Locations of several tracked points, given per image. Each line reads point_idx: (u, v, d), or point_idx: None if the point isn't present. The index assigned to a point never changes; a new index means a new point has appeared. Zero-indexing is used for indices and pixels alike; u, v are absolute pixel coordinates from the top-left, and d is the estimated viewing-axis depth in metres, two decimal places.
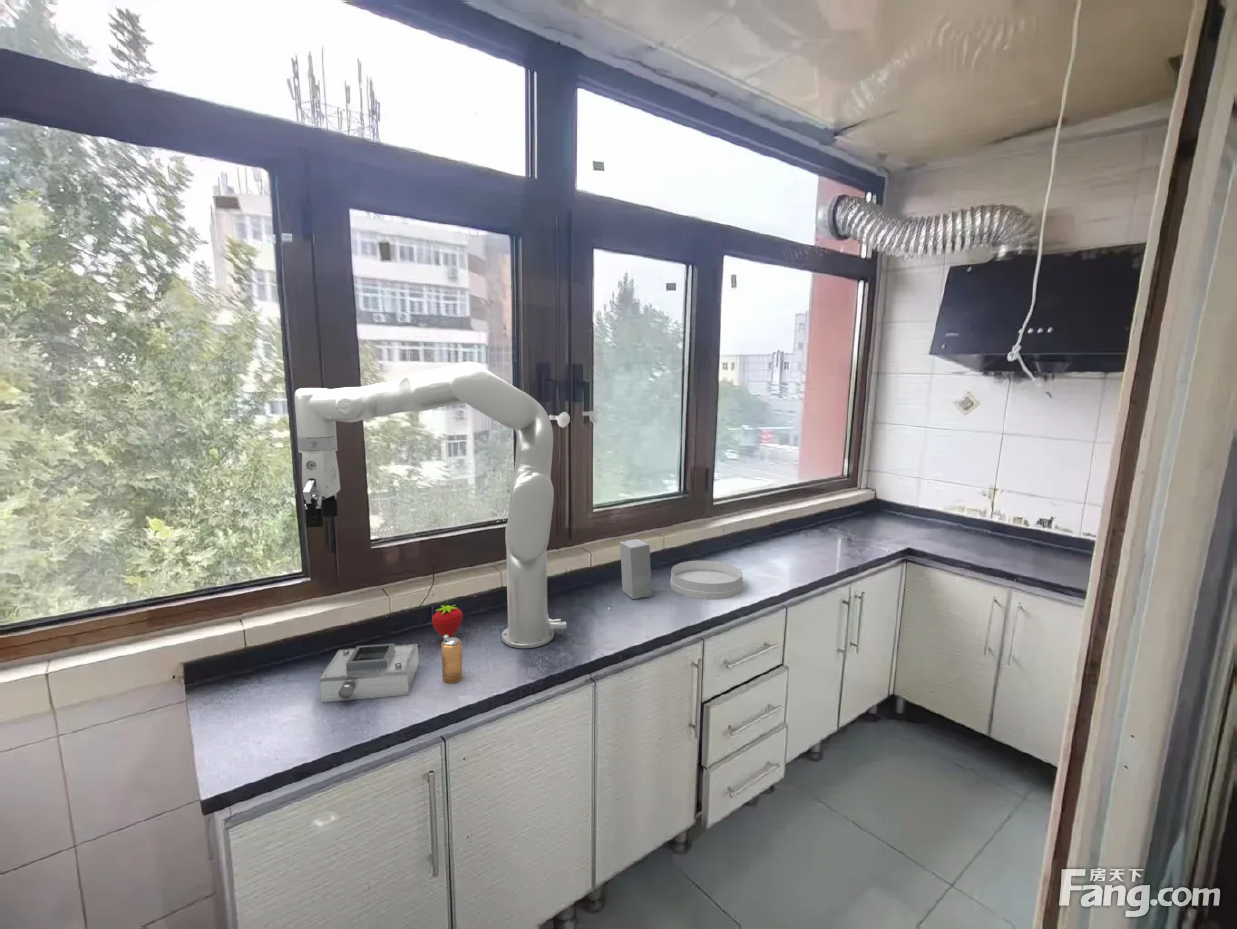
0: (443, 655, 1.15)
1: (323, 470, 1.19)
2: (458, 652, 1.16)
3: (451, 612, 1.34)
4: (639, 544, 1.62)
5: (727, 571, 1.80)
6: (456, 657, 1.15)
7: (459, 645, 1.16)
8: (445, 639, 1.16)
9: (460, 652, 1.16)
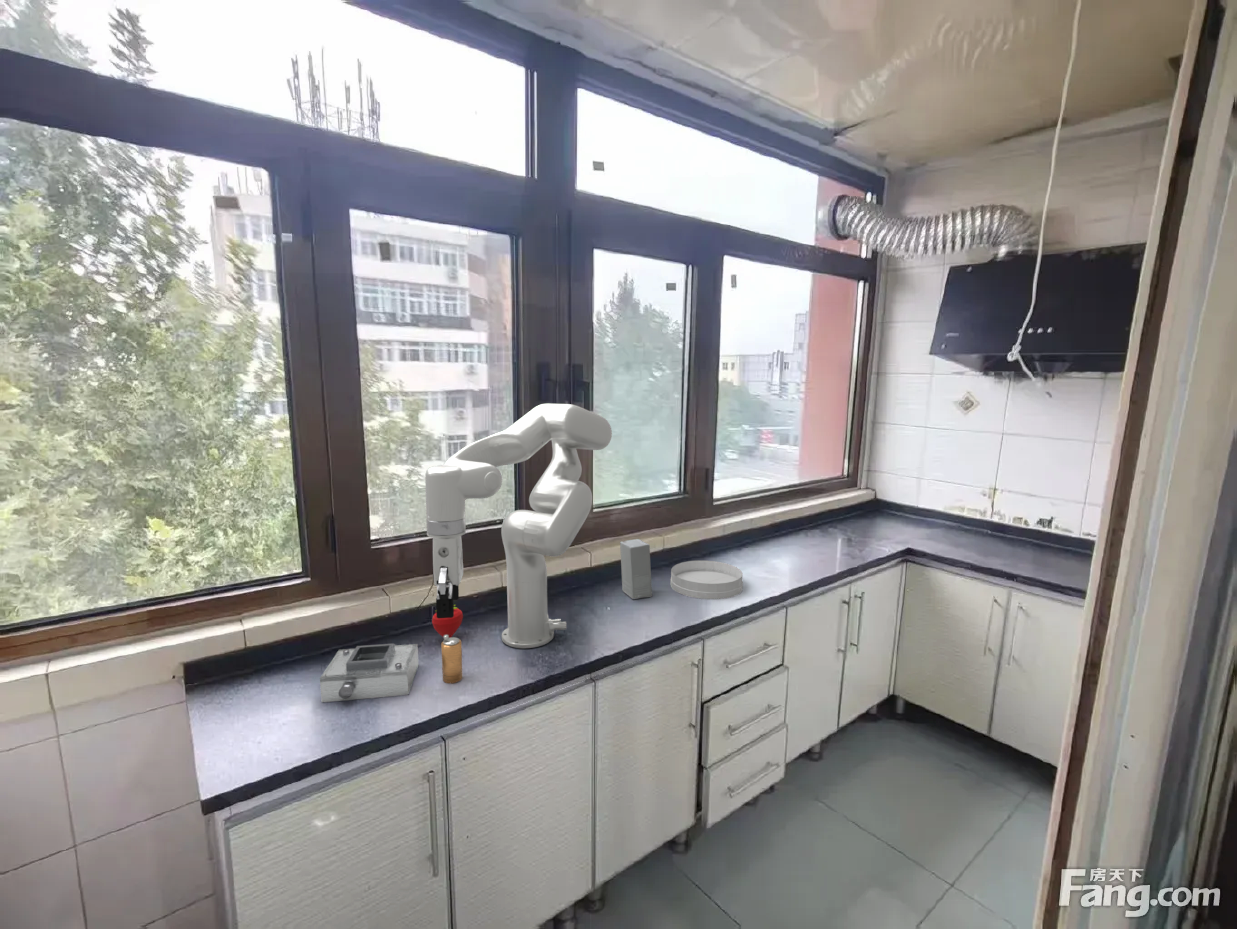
0: (443, 655, 1.15)
1: (456, 557, 1.10)
2: (458, 652, 1.16)
3: None
4: (639, 544, 1.62)
5: (727, 571, 1.80)
6: (456, 657, 1.15)
7: (459, 645, 1.16)
8: (445, 639, 1.16)
9: (460, 652, 1.16)
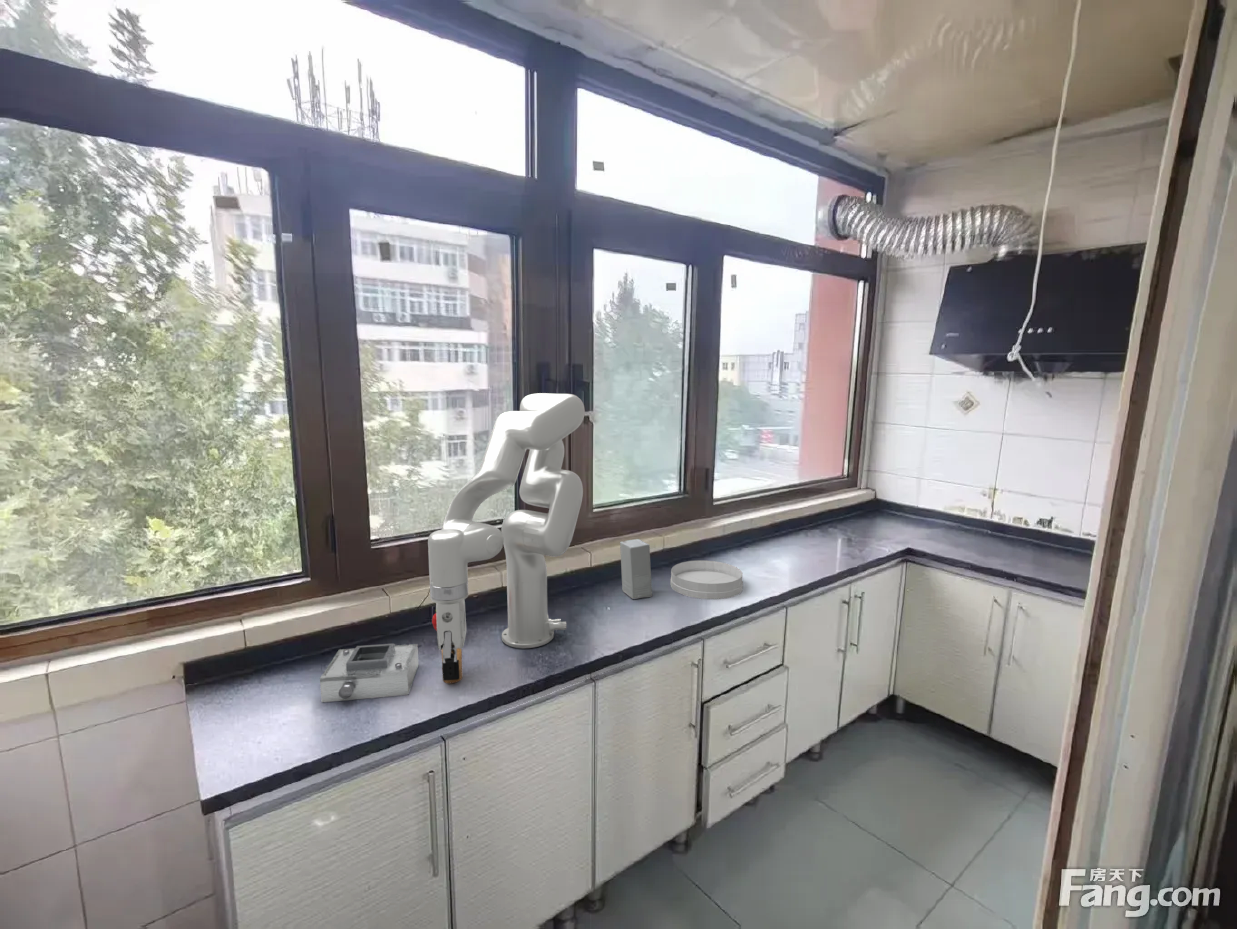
0: None
1: (459, 621, 1.12)
2: (458, 652, 1.16)
3: None
4: (639, 544, 1.62)
5: (727, 571, 1.80)
6: None
7: None
8: None
9: (460, 652, 1.16)
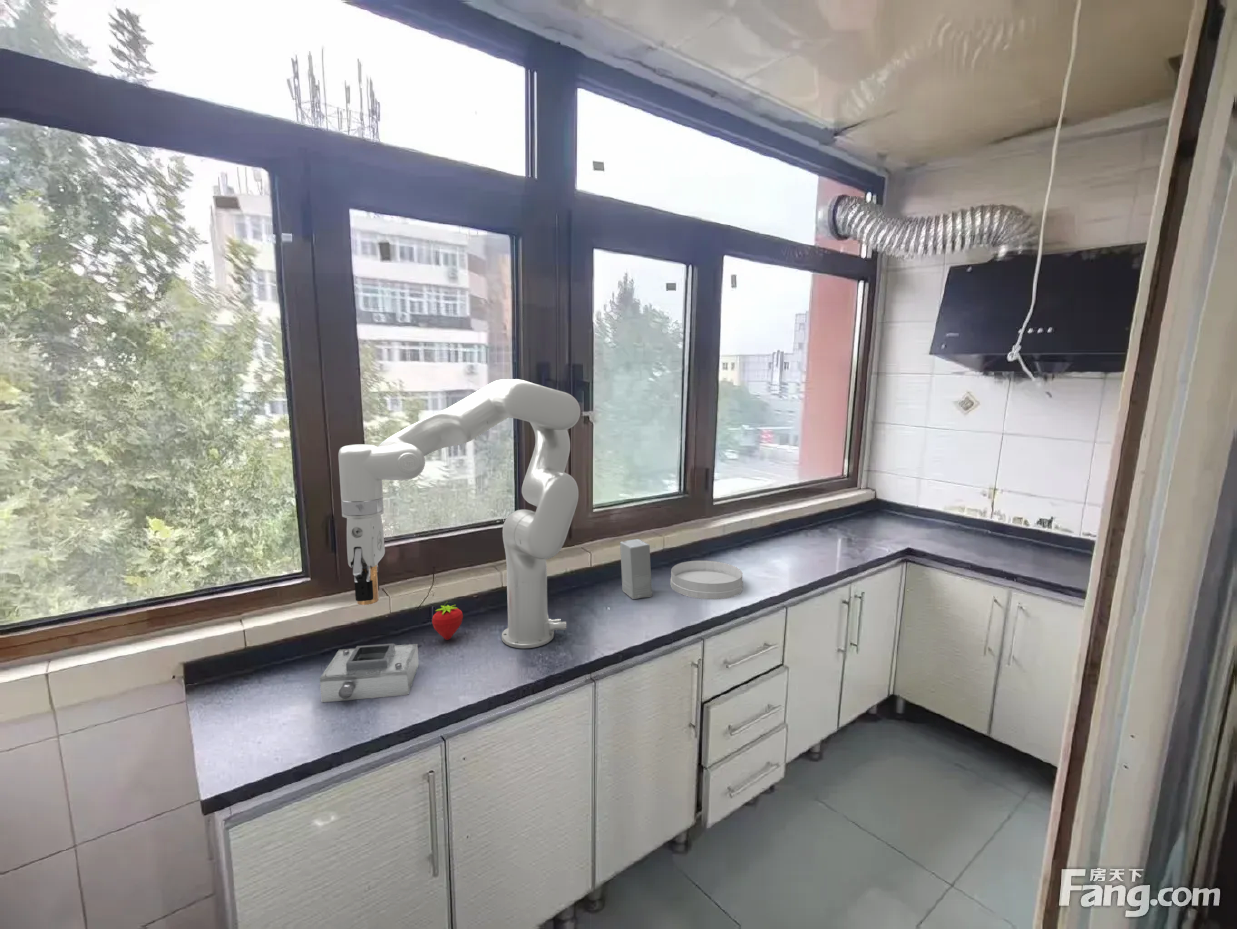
0: None
1: (370, 537, 1.07)
2: (372, 572, 1.11)
3: (451, 612, 1.34)
4: (639, 544, 1.62)
5: (727, 571, 1.80)
6: None
7: None
8: None
9: (375, 573, 1.12)
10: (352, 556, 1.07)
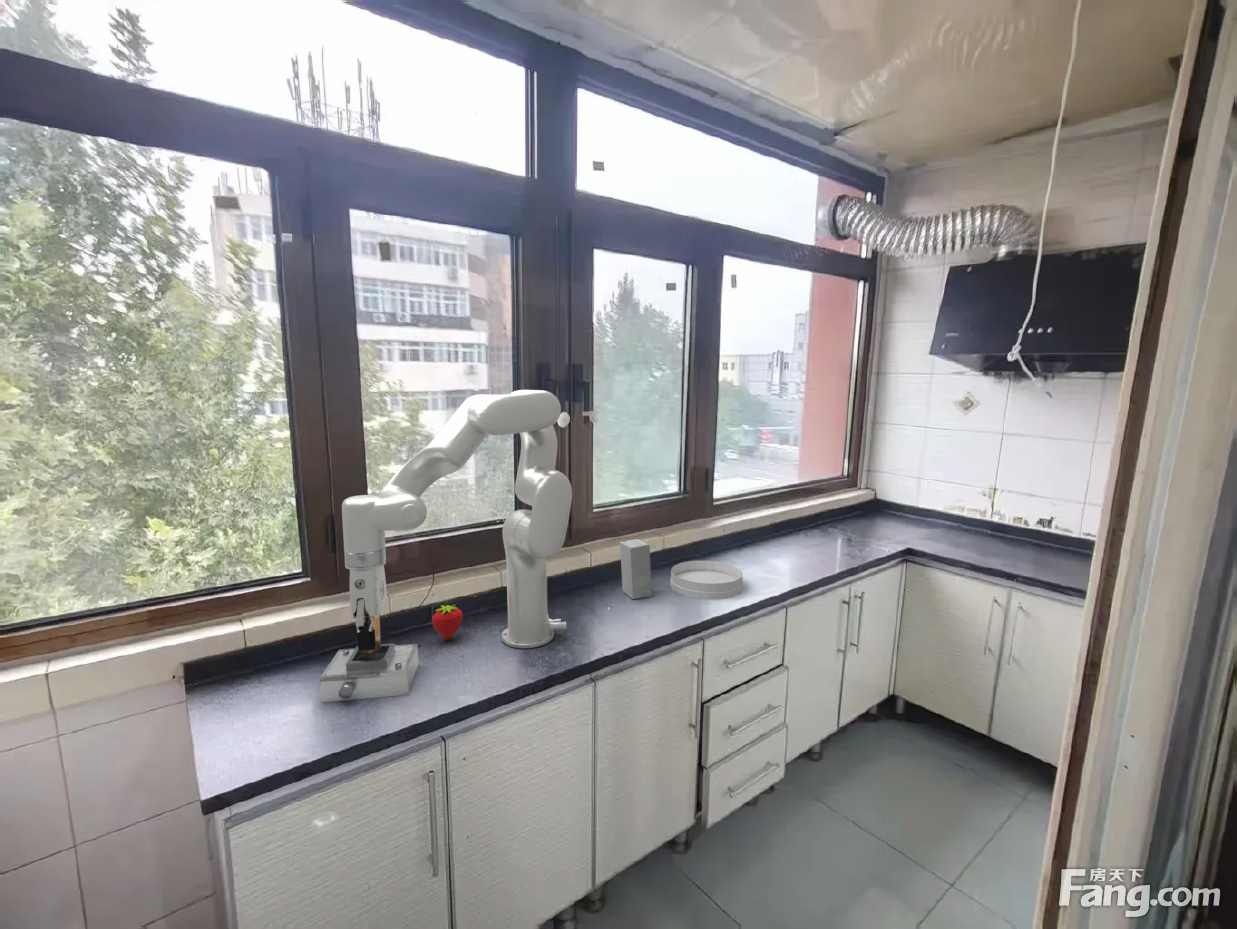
0: None
1: (373, 588, 1.09)
2: (374, 621, 1.13)
3: (451, 612, 1.34)
4: (639, 544, 1.62)
5: (727, 571, 1.80)
6: None
7: None
8: None
9: (377, 622, 1.14)
10: (355, 607, 1.08)
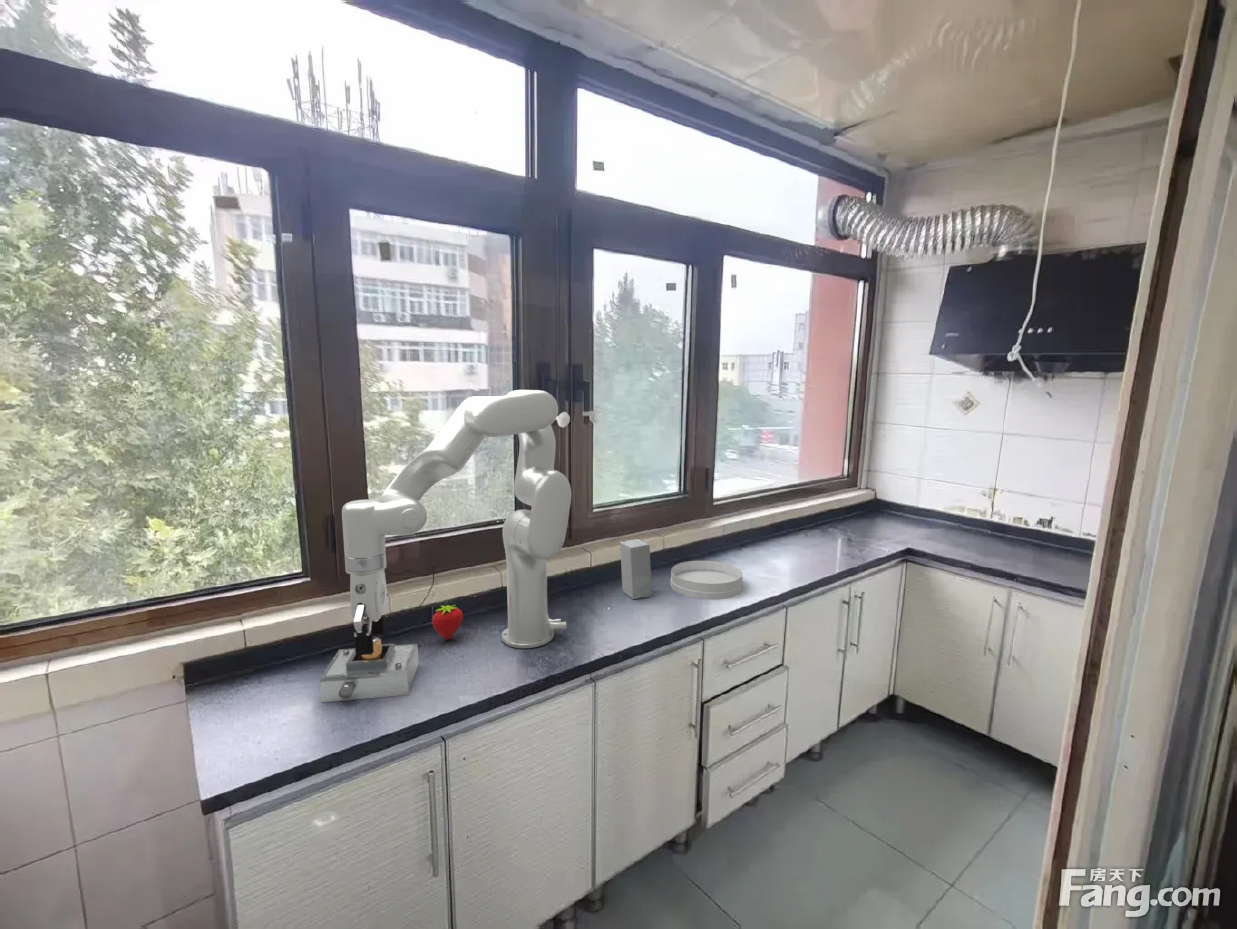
0: None
1: (373, 593, 1.09)
2: (377, 650, 1.14)
3: (451, 612, 1.34)
4: (639, 544, 1.62)
5: (727, 571, 1.80)
6: (375, 656, 1.14)
7: (378, 643, 1.14)
8: None
9: (380, 650, 1.15)
10: (355, 612, 1.08)
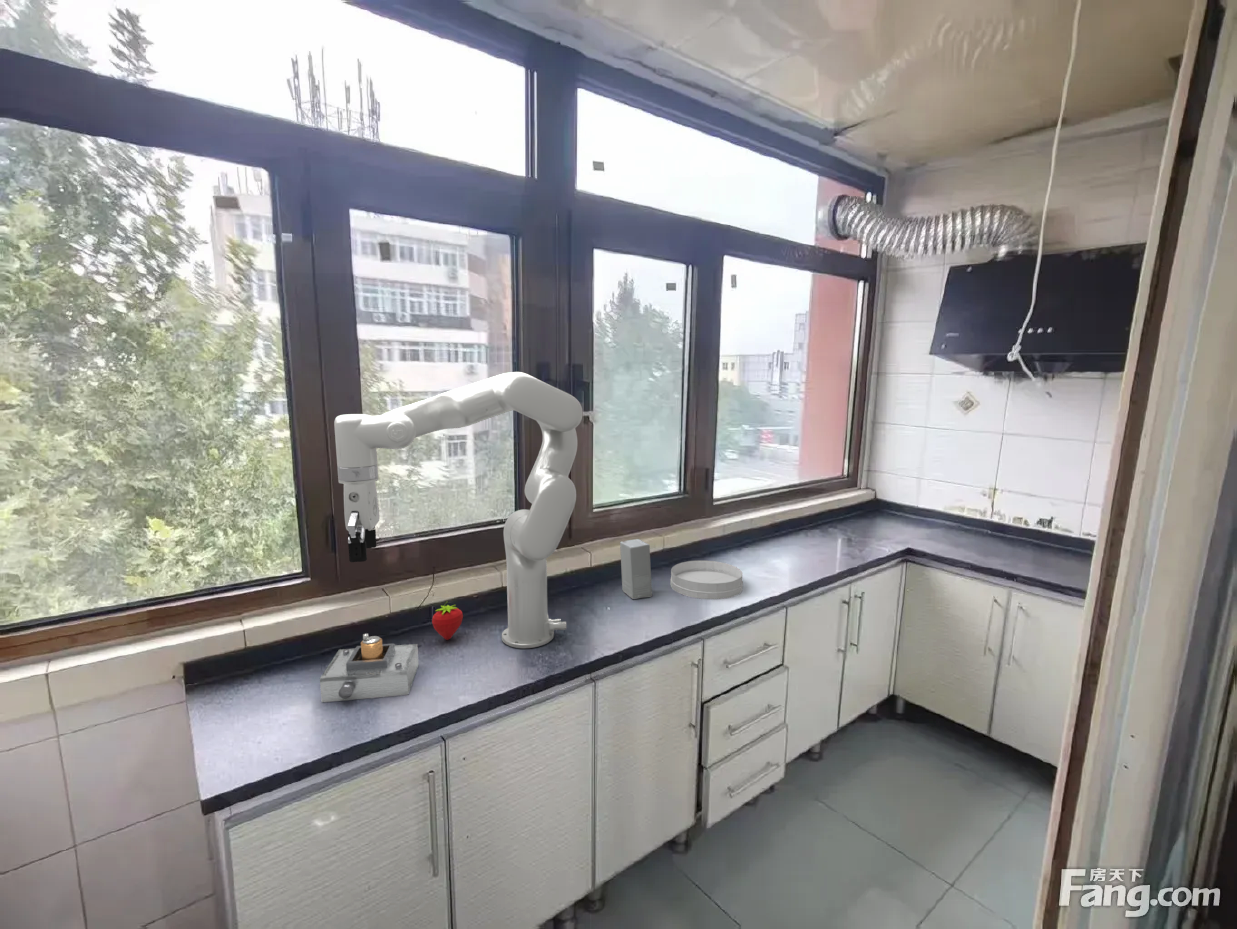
0: (363, 654, 1.14)
1: (367, 501, 1.12)
2: (379, 650, 1.14)
3: (451, 612, 1.34)
4: (639, 544, 1.62)
5: (727, 571, 1.80)
6: (376, 655, 1.14)
7: (380, 643, 1.15)
8: (365, 638, 1.14)
9: (381, 650, 1.15)
10: (349, 520, 1.12)
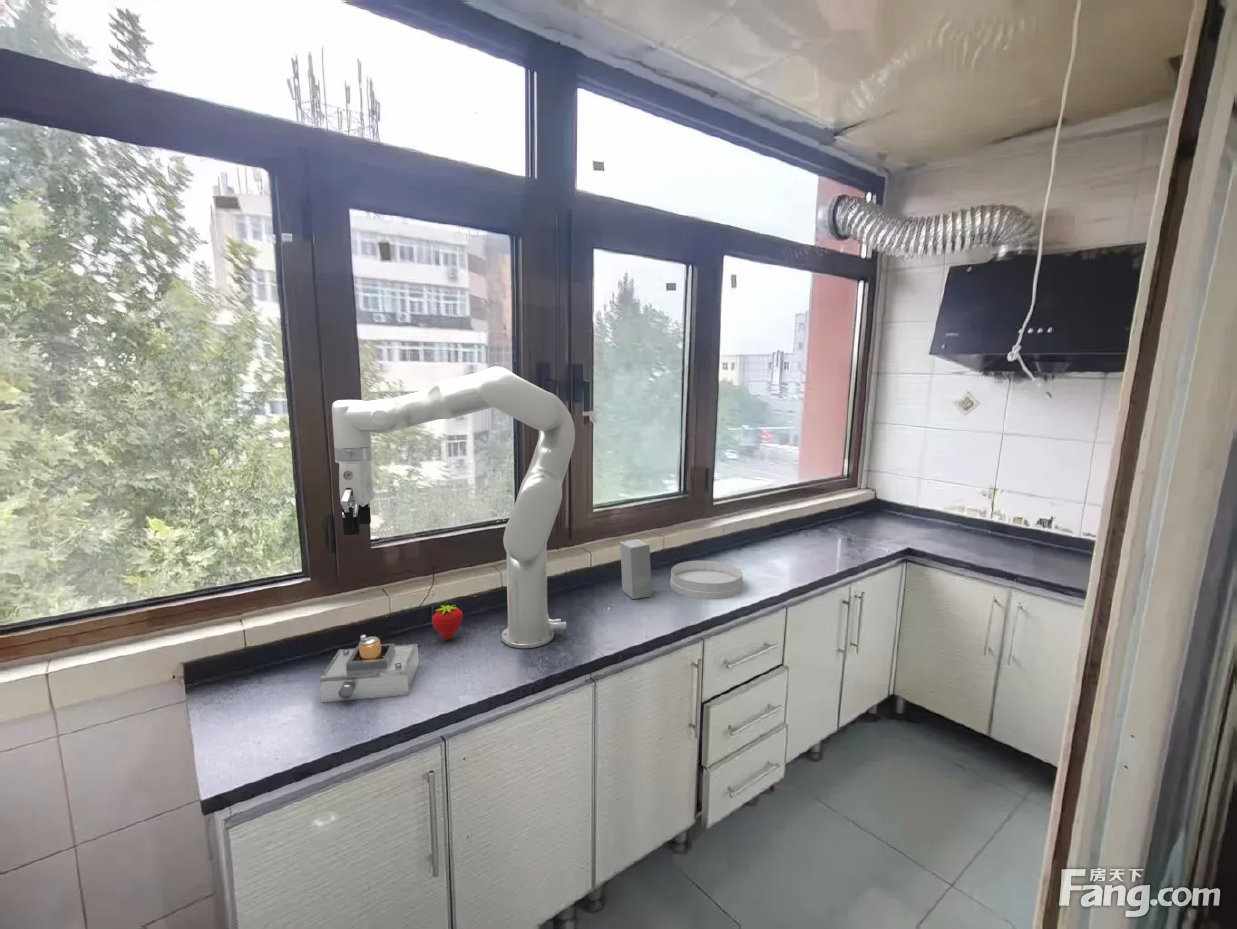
0: (362, 655, 1.13)
1: (360, 480, 1.23)
2: (377, 650, 1.14)
3: (451, 612, 1.34)
4: (639, 544, 1.62)
5: (727, 571, 1.80)
6: (375, 656, 1.14)
7: (378, 643, 1.14)
8: (362, 639, 1.14)
9: (380, 650, 1.15)
10: (344, 496, 1.22)
